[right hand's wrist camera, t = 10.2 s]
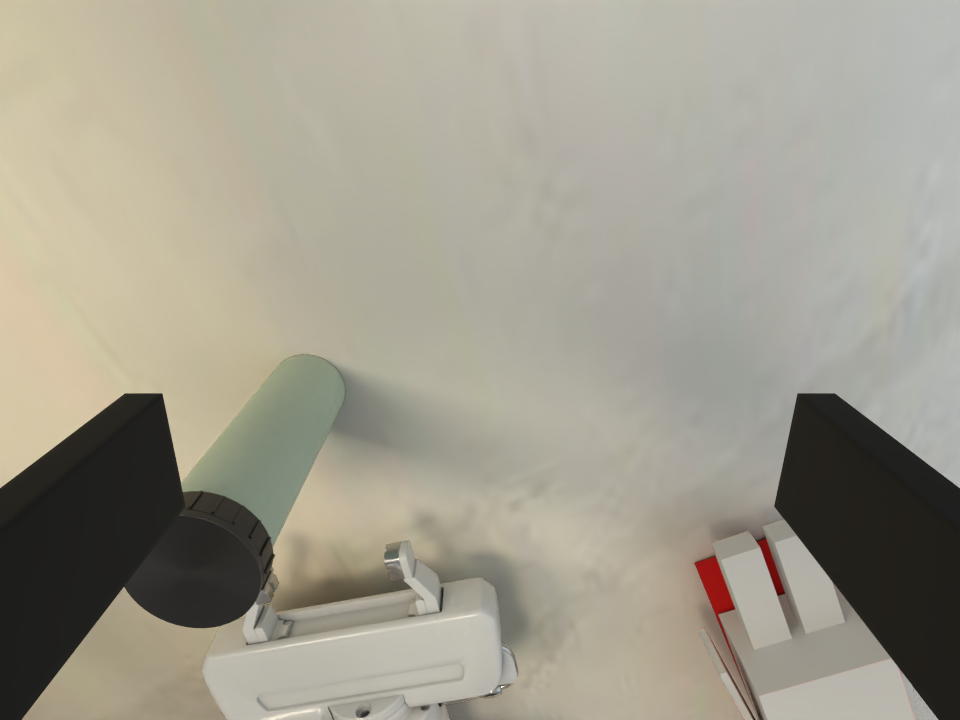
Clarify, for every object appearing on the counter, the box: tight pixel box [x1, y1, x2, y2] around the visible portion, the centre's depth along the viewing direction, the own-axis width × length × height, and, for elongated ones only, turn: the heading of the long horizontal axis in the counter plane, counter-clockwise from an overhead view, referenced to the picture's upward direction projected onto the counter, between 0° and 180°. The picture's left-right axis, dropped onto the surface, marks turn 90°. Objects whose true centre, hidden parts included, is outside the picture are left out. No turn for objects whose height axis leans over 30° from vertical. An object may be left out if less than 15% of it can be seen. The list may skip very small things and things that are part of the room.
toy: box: [695, 519, 919, 720], centre depth 45 cm, size 12×13×30 cm
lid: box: [124, 491, 275, 628], centre depth 25 cm, size 6×6×2 cm
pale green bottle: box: [181, 355, 345, 547], centre depth 33 cm, size 5×5×18 cm
